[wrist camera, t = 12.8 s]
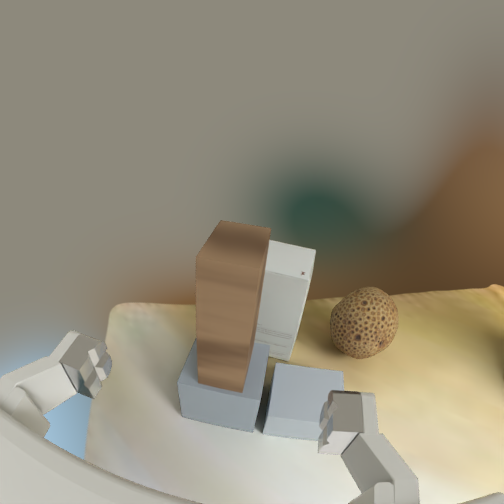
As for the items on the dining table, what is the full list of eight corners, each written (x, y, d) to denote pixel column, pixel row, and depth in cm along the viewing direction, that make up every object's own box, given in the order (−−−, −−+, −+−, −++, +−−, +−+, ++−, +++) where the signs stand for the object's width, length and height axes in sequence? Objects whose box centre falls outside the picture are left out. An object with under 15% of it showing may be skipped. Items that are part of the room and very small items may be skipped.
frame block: (242, 393, 25) (259, 268, 18) (197, 383, 25) (195, 257, 19) (253, 346, 30) (271, 228, 24) (214, 338, 30) (220, 220, 24)
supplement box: (299, 326, 43) (318, 249, 37) (288, 363, 36) (310, 281, 30) (250, 313, 44) (260, 235, 38) (232, 347, 38) (240, 263, 32)
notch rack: (332, 441, 27) (354, 411, 23) (182, 416, 28) (177, 382, 25) (332, 391, 33) (350, 356, 30) (199, 369, 34) (198, 331, 31)
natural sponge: (376, 384, 34) (409, 327, 29) (312, 364, 36) (333, 304, 32) (383, 340, 41) (408, 285, 36) (328, 322, 44) (346, 266, 39)
